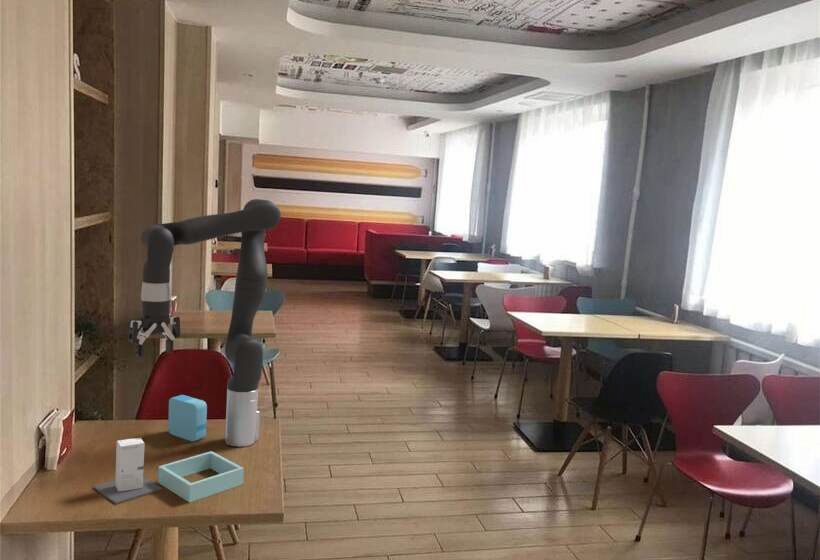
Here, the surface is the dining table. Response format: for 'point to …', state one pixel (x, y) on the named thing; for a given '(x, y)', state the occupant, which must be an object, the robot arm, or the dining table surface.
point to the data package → (187, 417)
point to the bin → (197, 490)
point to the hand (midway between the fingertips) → (154, 354)
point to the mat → (123, 496)
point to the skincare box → (129, 464)
